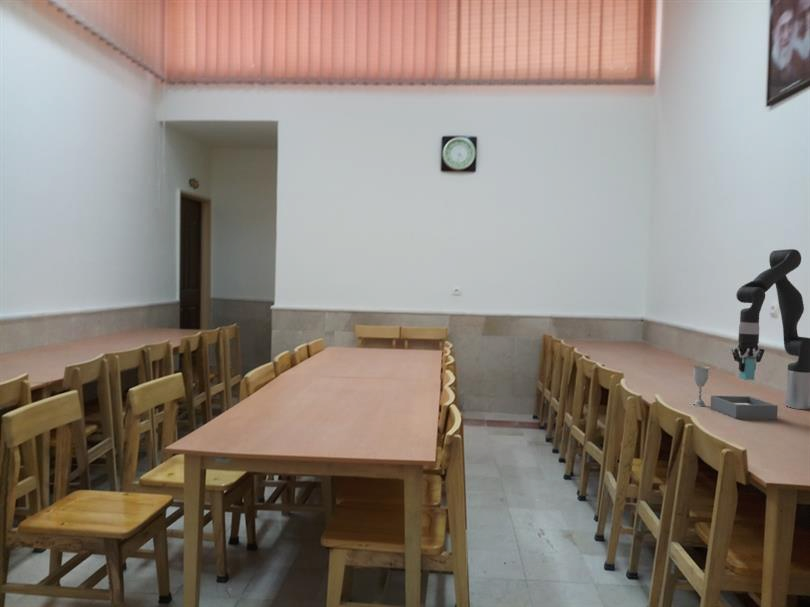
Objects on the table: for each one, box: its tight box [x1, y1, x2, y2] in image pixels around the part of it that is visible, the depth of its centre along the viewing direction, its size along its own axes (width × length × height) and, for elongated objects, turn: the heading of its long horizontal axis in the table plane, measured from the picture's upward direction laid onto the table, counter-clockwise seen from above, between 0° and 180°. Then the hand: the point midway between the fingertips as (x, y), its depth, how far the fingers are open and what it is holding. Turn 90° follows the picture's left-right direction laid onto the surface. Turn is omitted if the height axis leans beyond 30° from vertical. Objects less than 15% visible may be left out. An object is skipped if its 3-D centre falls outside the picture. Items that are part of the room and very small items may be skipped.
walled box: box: [709, 395, 779, 420], centre depth 238 cm, size 18×18×6 cm
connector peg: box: [738, 355, 756, 381], centre depth 237 cm, size 4×4×10 cm
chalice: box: [692, 365, 710, 407], centre depth 254 cm, size 7×7×18 cm
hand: (746, 371), depth 237 cm, fingers closed on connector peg, 4 cm apart
